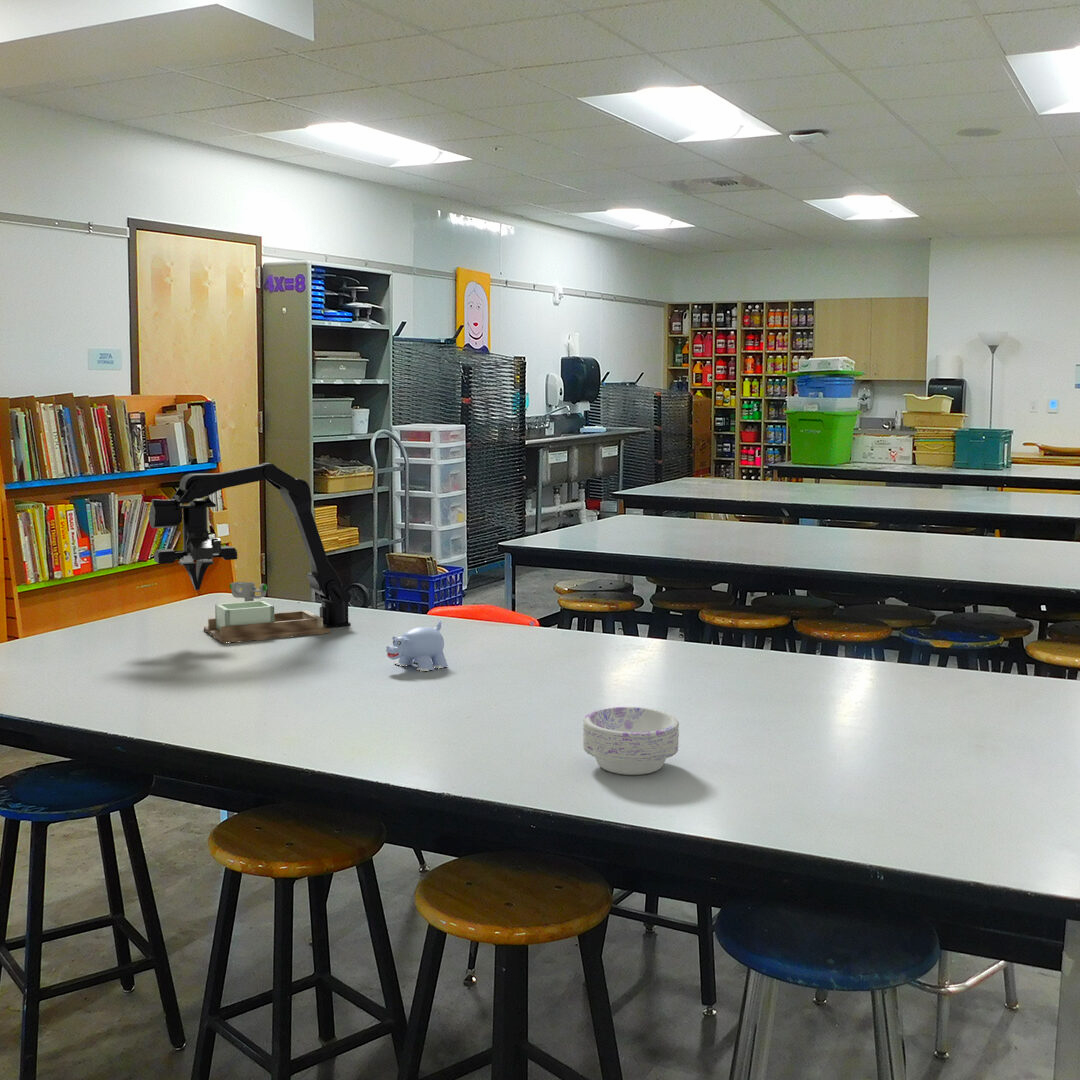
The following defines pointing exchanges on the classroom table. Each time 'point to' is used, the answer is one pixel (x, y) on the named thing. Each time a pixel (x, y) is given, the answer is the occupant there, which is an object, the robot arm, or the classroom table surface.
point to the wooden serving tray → (270, 627)
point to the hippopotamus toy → (419, 648)
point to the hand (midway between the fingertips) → (197, 589)
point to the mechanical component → (247, 590)
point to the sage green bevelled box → (243, 613)
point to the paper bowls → (630, 739)
